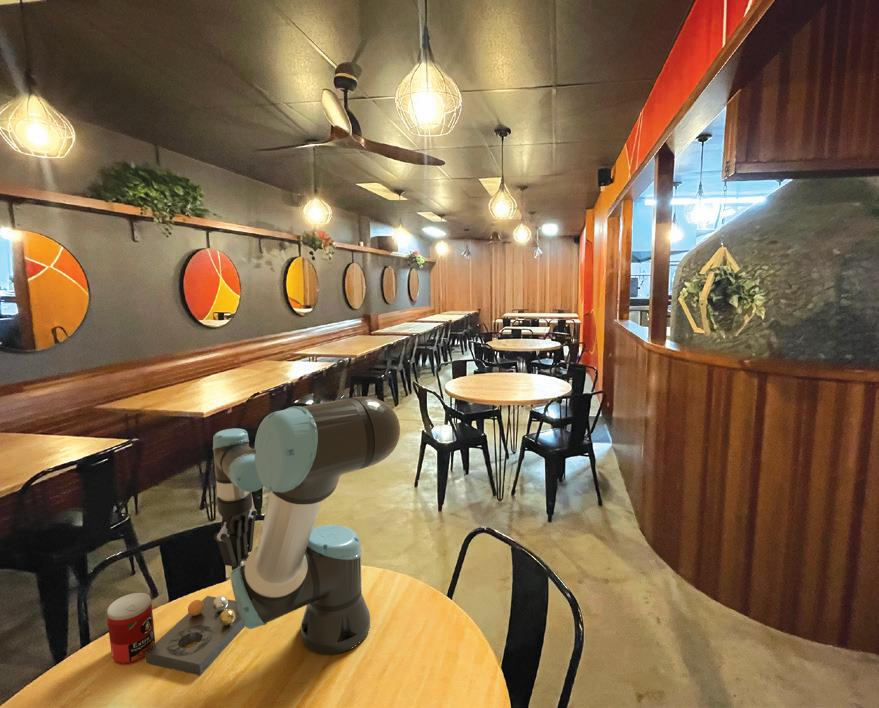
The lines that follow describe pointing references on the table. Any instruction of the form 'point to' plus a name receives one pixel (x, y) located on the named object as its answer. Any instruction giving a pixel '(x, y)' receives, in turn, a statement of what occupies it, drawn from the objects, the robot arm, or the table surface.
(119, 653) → the canned food
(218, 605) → the steel ball
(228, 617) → the brass ball
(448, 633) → the table surface
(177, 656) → the bearing plate
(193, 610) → the orange ball
